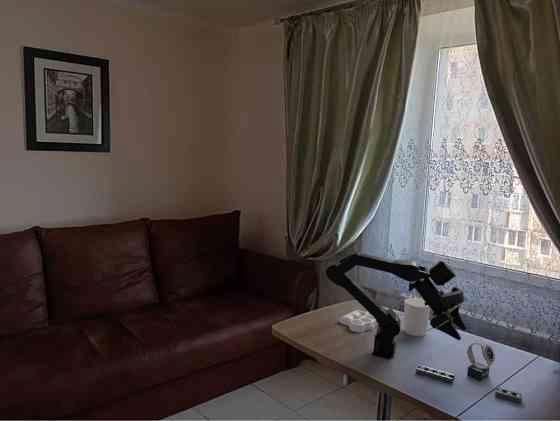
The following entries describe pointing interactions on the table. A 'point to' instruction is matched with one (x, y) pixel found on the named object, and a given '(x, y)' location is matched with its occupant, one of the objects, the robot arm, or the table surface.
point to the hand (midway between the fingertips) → (462, 334)
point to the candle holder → (416, 317)
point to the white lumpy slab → (359, 321)
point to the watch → (478, 369)
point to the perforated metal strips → (449, 378)
